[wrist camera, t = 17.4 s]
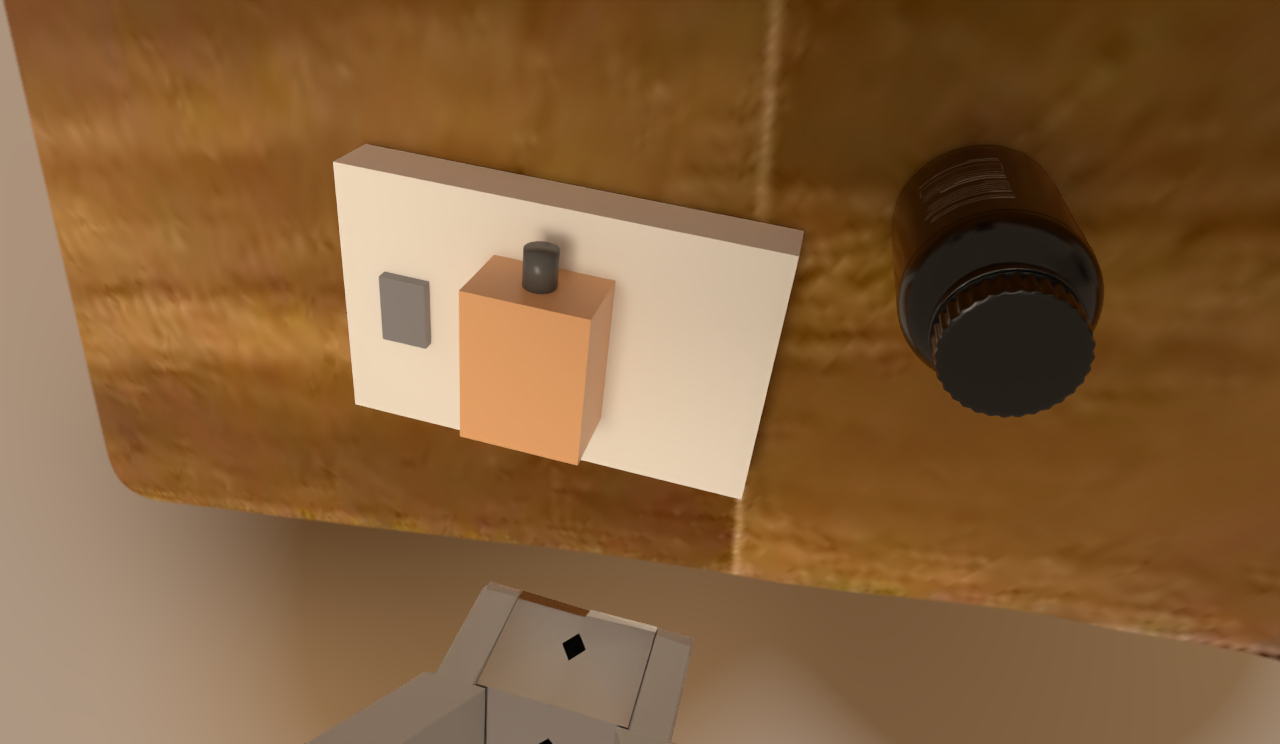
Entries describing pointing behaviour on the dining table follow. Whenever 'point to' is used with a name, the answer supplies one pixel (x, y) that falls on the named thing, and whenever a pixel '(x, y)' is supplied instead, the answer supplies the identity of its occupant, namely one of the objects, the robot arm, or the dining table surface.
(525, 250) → the plug
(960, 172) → the supplement bottle
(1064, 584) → the dining table surface
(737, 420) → the socket plate
